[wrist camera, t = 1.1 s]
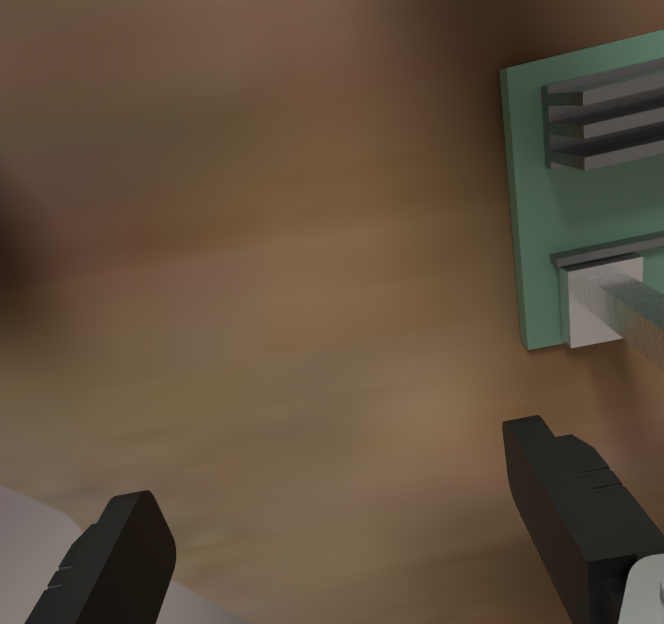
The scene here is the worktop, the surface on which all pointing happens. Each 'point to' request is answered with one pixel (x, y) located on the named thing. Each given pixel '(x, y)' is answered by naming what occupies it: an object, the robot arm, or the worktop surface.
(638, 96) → the heatsink
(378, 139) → the worktop surface
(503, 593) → the worktop surface
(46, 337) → the worktop surface
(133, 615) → the robot arm
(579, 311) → the clip lever
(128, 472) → the worktop surface
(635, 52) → the board
